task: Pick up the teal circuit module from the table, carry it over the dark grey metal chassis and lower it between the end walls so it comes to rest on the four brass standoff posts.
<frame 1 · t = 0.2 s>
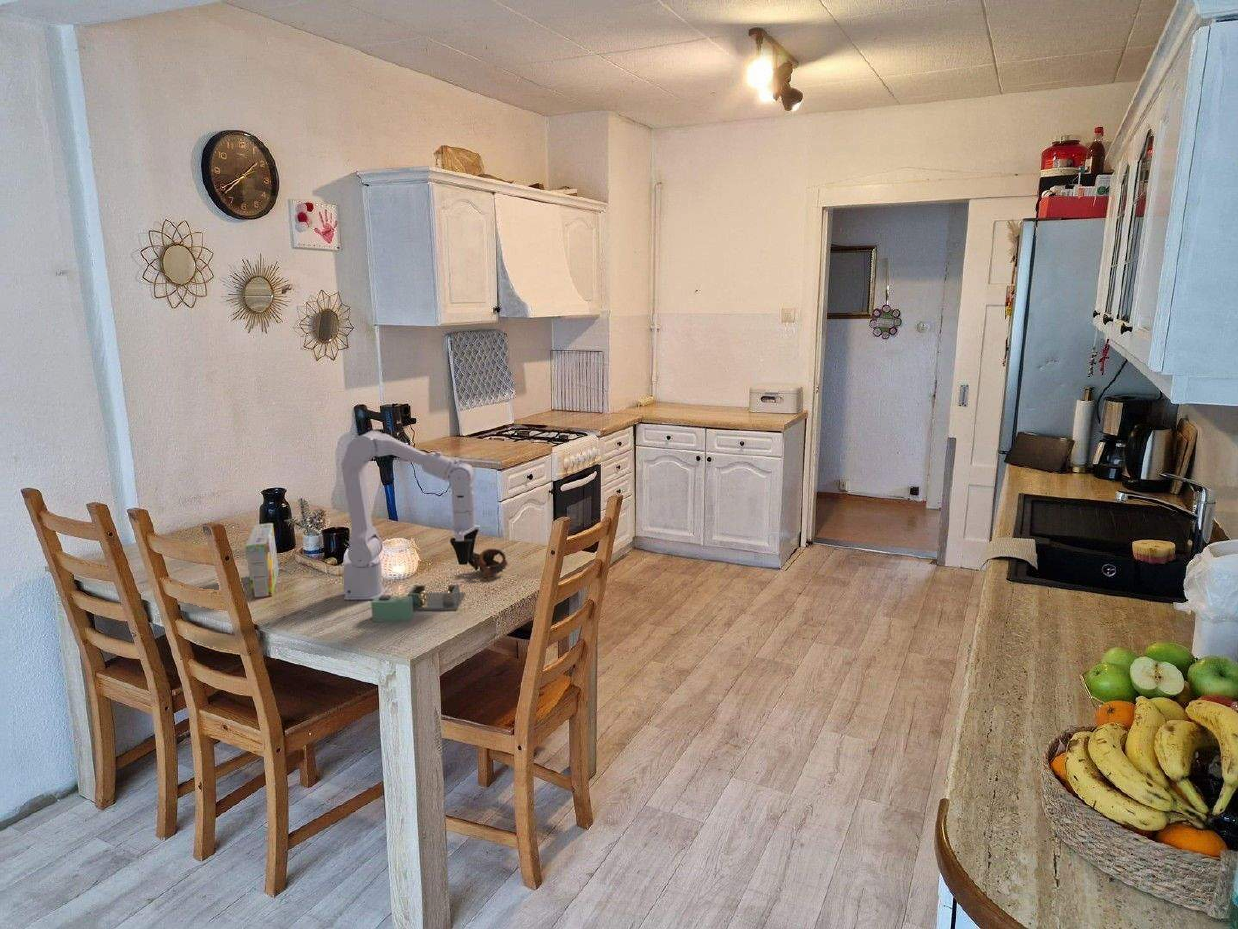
hand: (466, 559, 212), 10 cm above the table, fingers open, 7 cm apart
pottery mug: (487, 574, 232), on the table
board: (393, 618, 200), on the table
chassis: (434, 602, 210), on the table
snack box: (265, 585, 224), on the table
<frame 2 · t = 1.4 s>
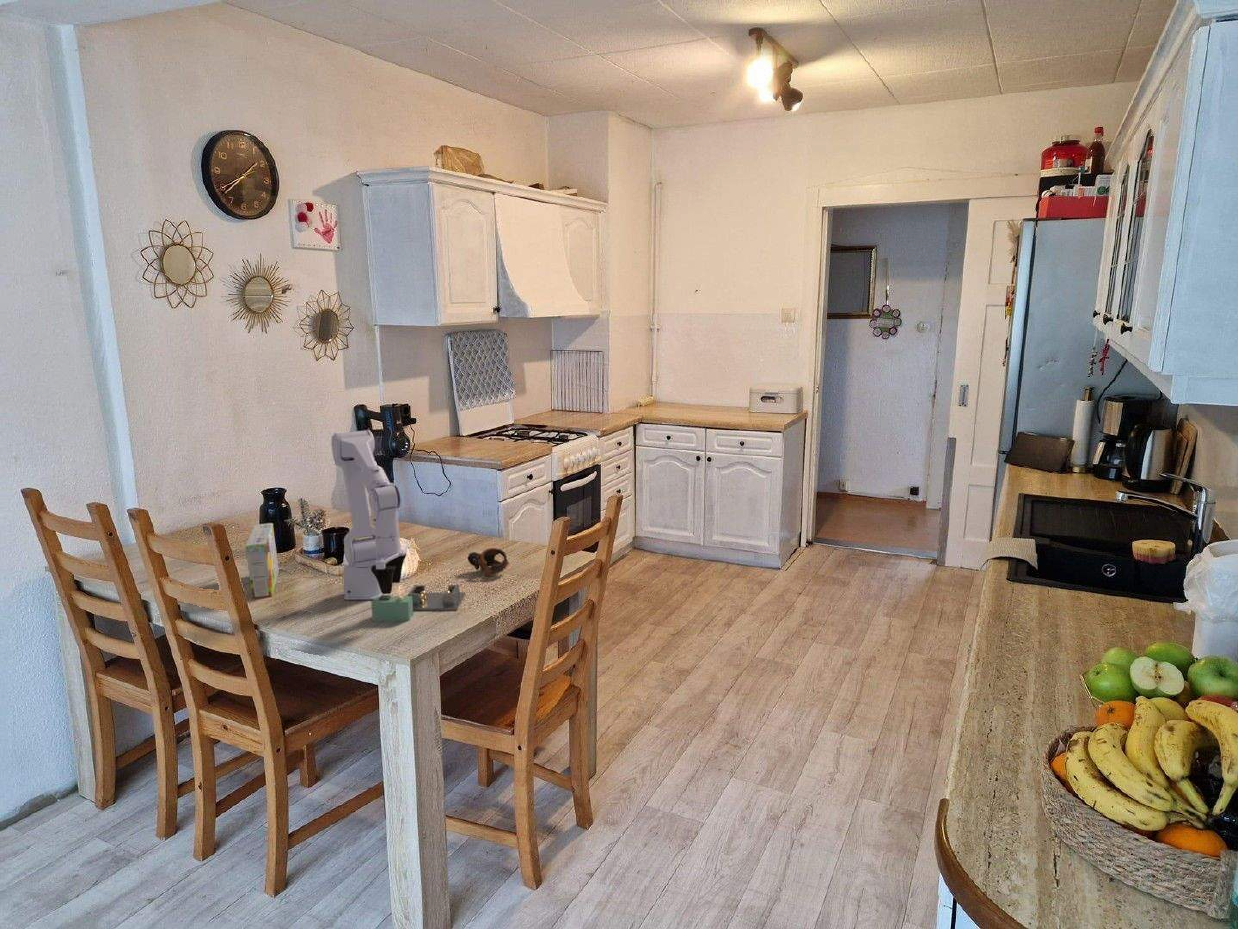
hand: (391, 587, 198), 8 cm above the table, fingers open, 7 cm apart
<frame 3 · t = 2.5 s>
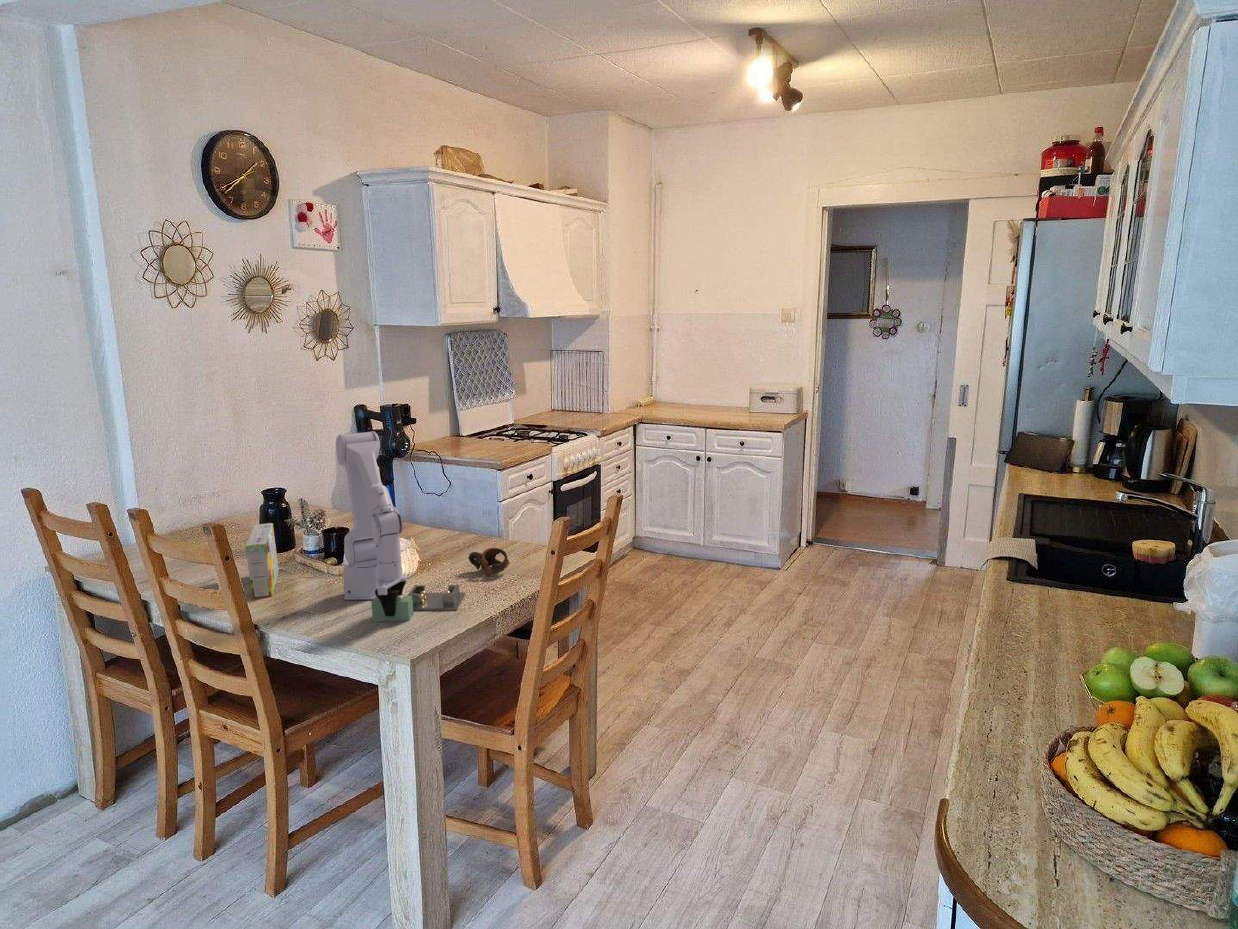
hand: (392, 612, 200), 1 cm above the table, fingers closed on board, 4 cm apart
board: (393, 617, 200), on the table, touching gripper
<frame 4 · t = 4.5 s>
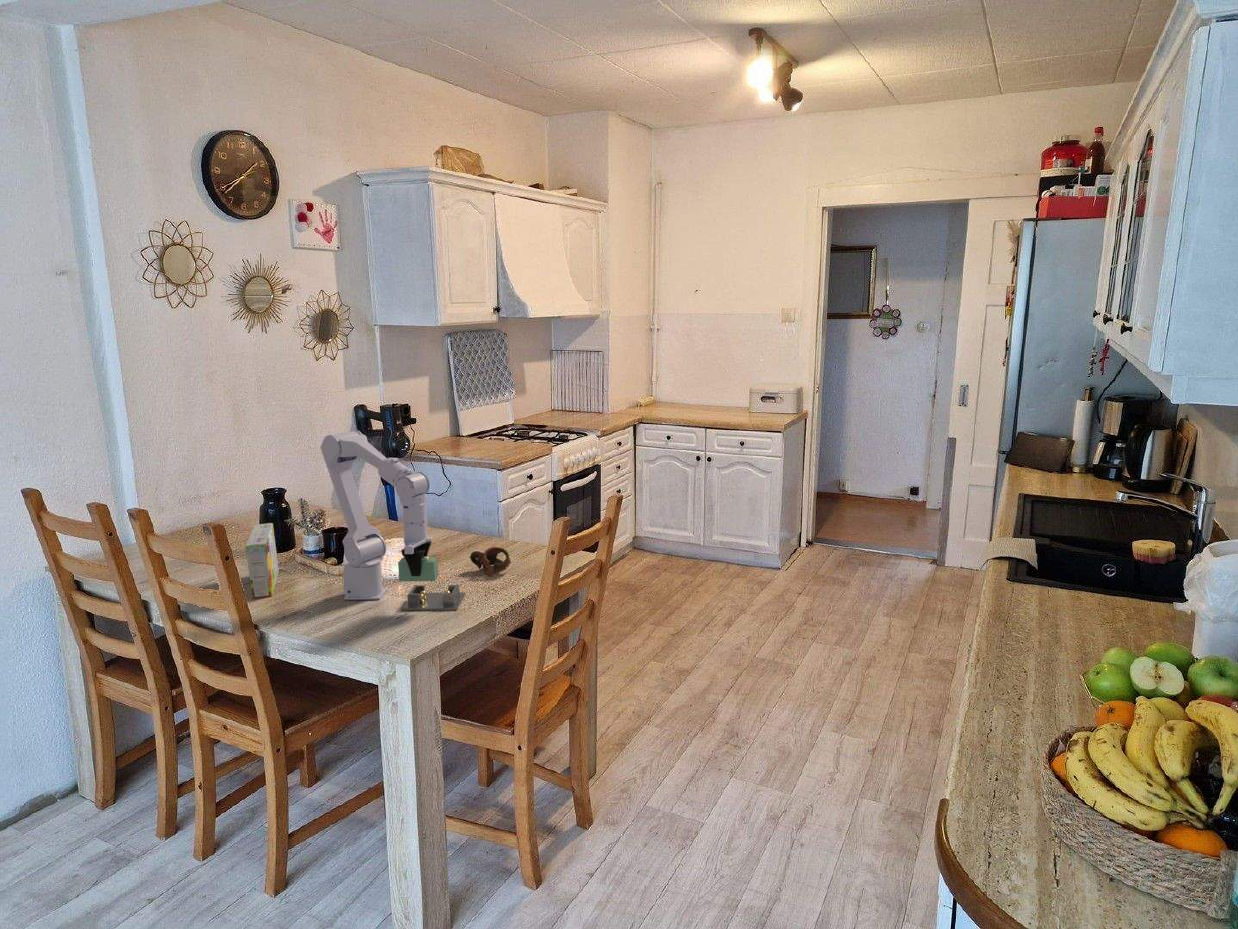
hand: (418, 572, 204), 9 cm above the table, fingers closed on board, 4 cm apart
board: (419, 578, 205), point 8 cm above the table, touching gripper
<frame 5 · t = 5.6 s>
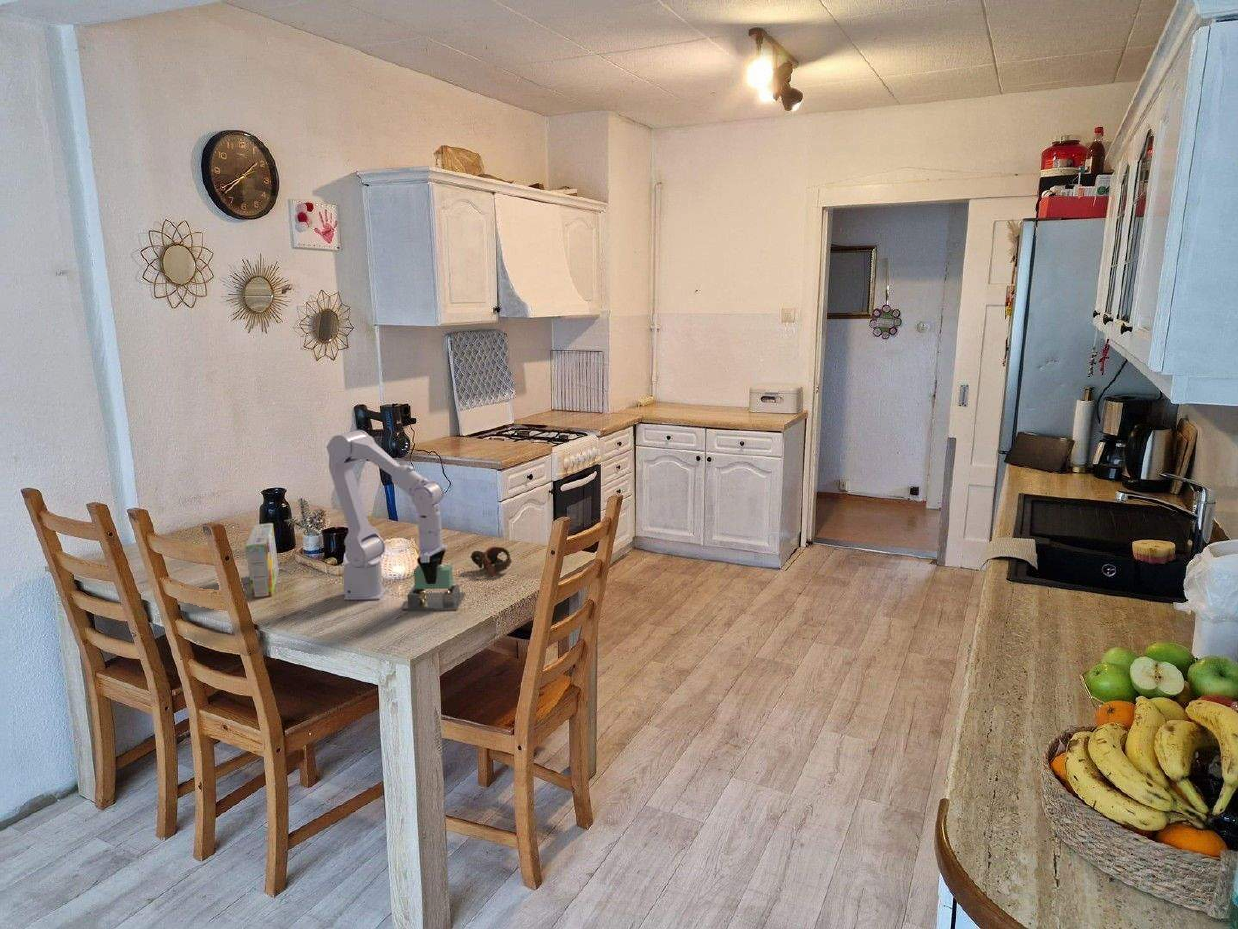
hand: (433, 580, 208), 6 cm above the table, fingers closed on board, 4 cm apart
board: (434, 586, 209), point 4 cm above the table, touching gripper
when the fingers open (5 cm above the table, at t = 6.3 s): board stays where it is, resting on chassis.
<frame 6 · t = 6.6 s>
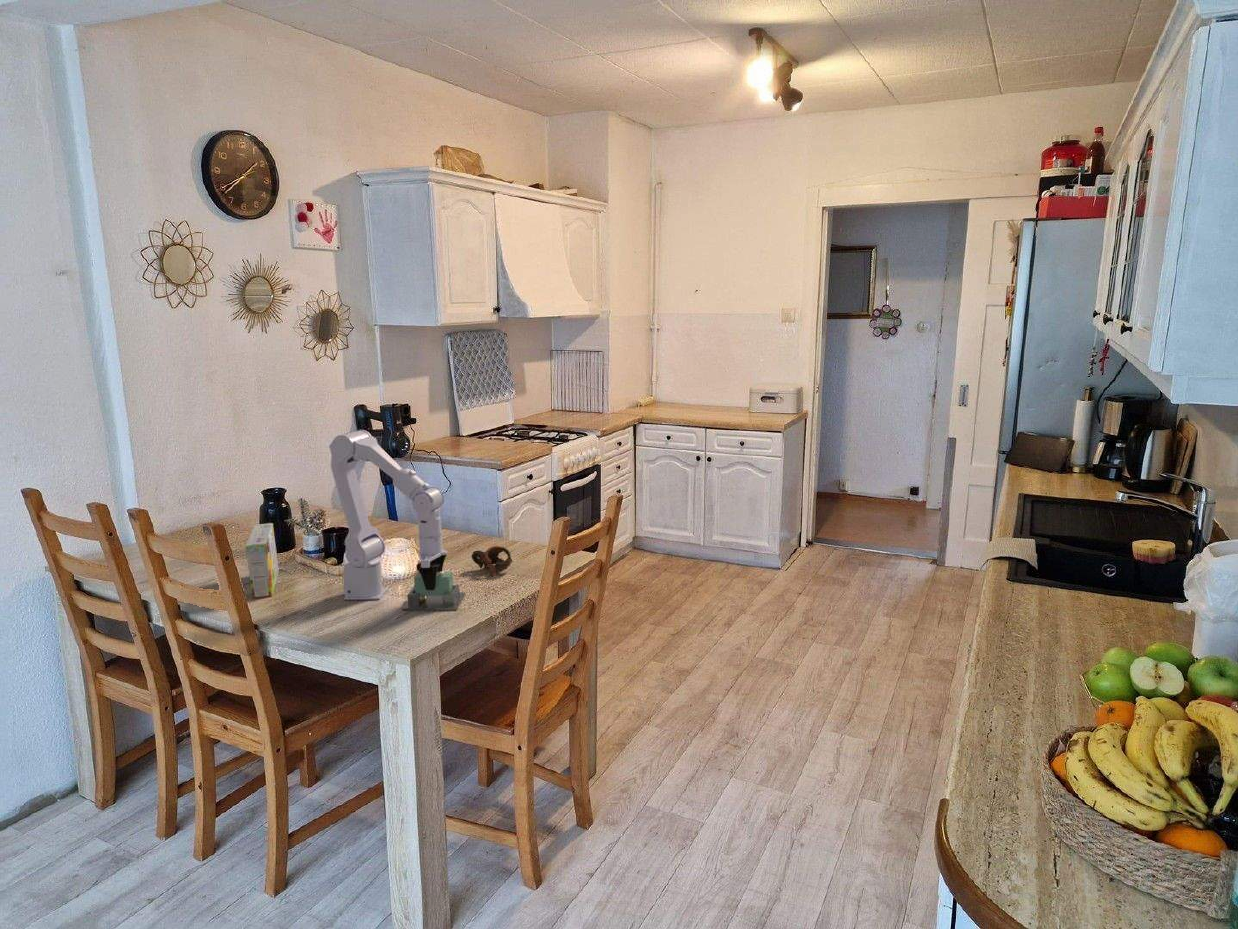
hand: (433, 585, 209), 5 cm above the table, fingers open, 6 cm apart
board: (434, 593, 209), point 3 cm above the table, touching chassis
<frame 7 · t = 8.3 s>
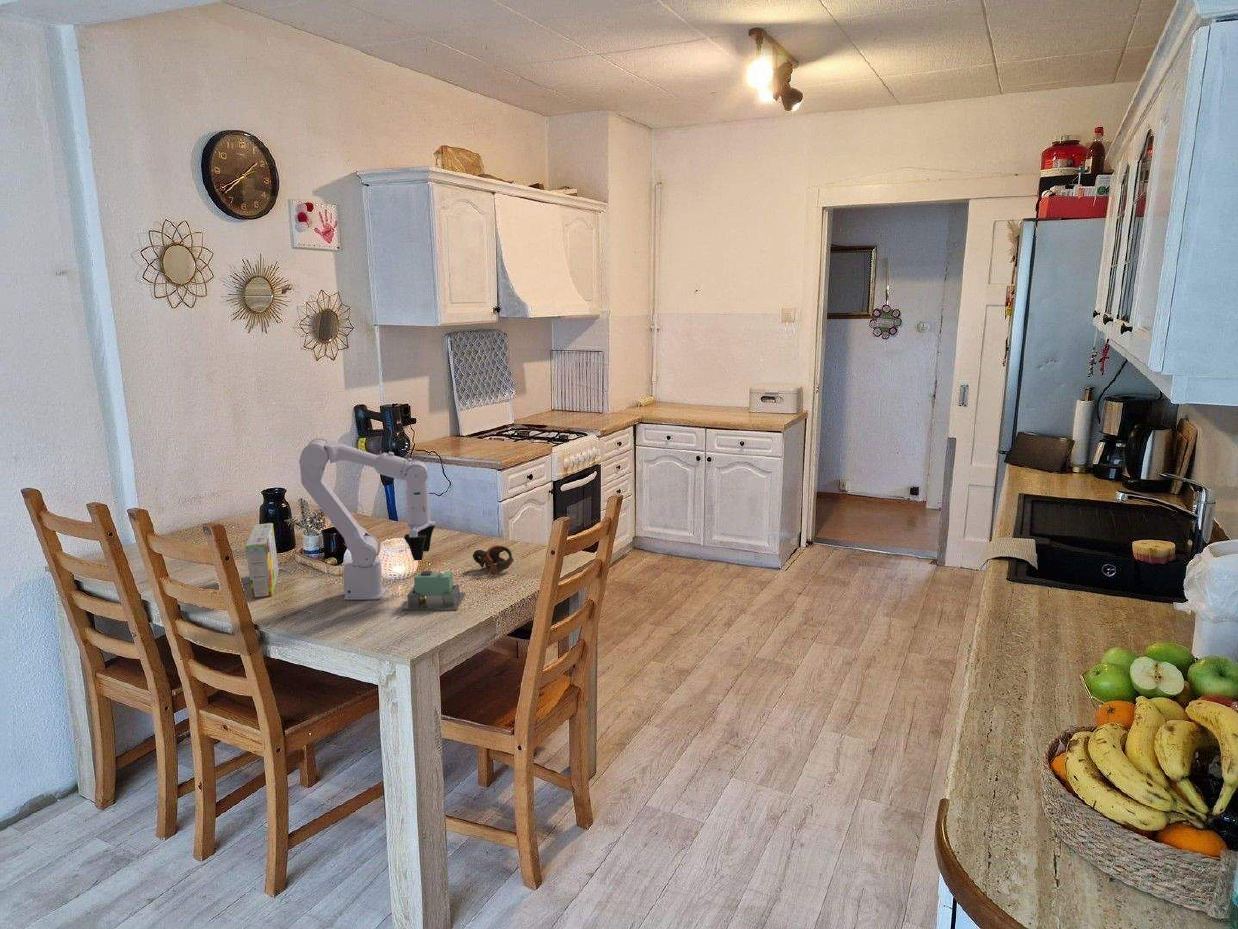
hand: (421, 555, 216), 10 cm above the table, fingers open, 7 cm apart
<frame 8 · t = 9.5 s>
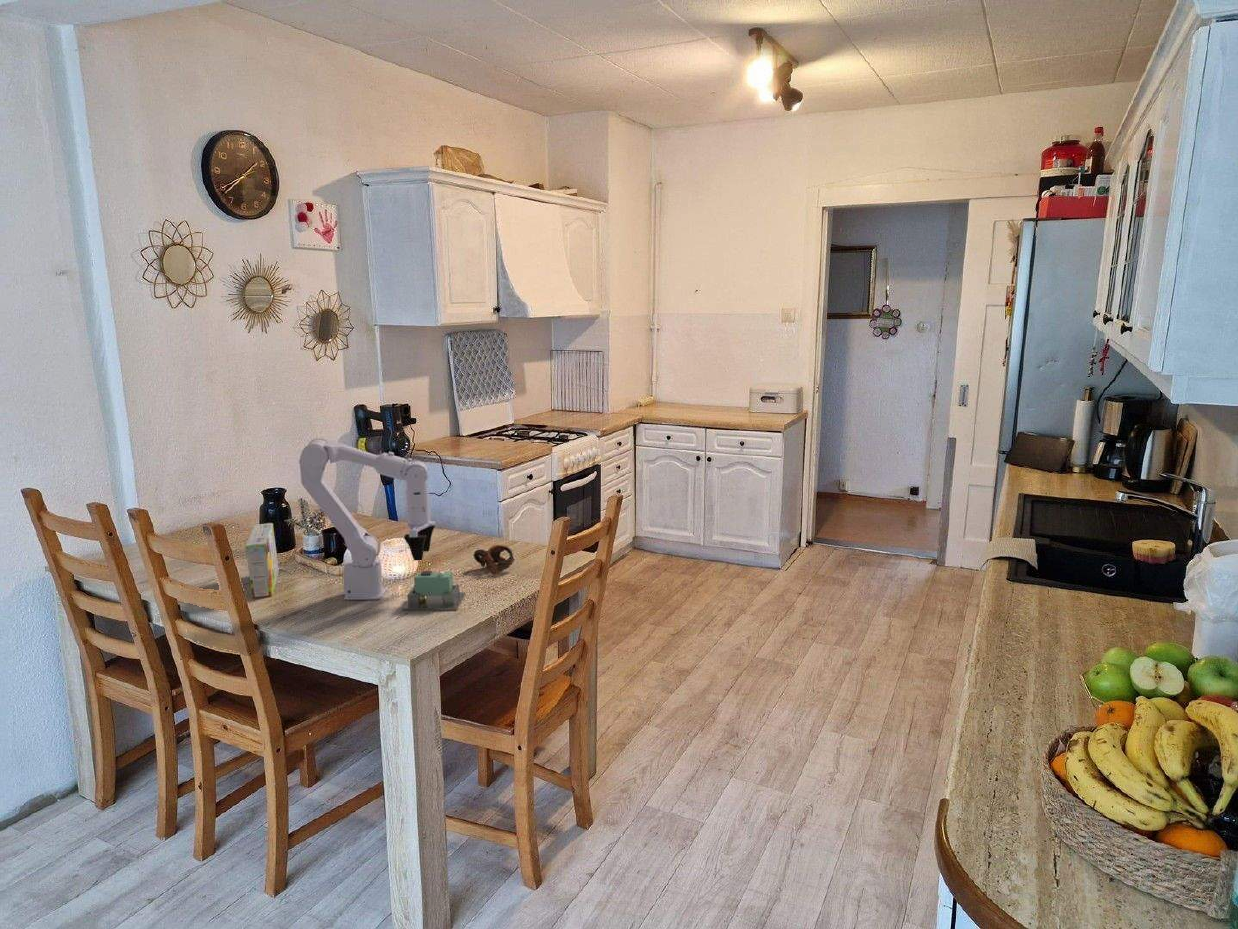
hand: (421, 555, 216), 10 cm above the table, fingers open, 7 cm apart
at the end: board 0.1 cm off-centre on the chassis, point 2.6 cm above the chassis's base; board tilted 0°; the gripper is holding nothing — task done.
